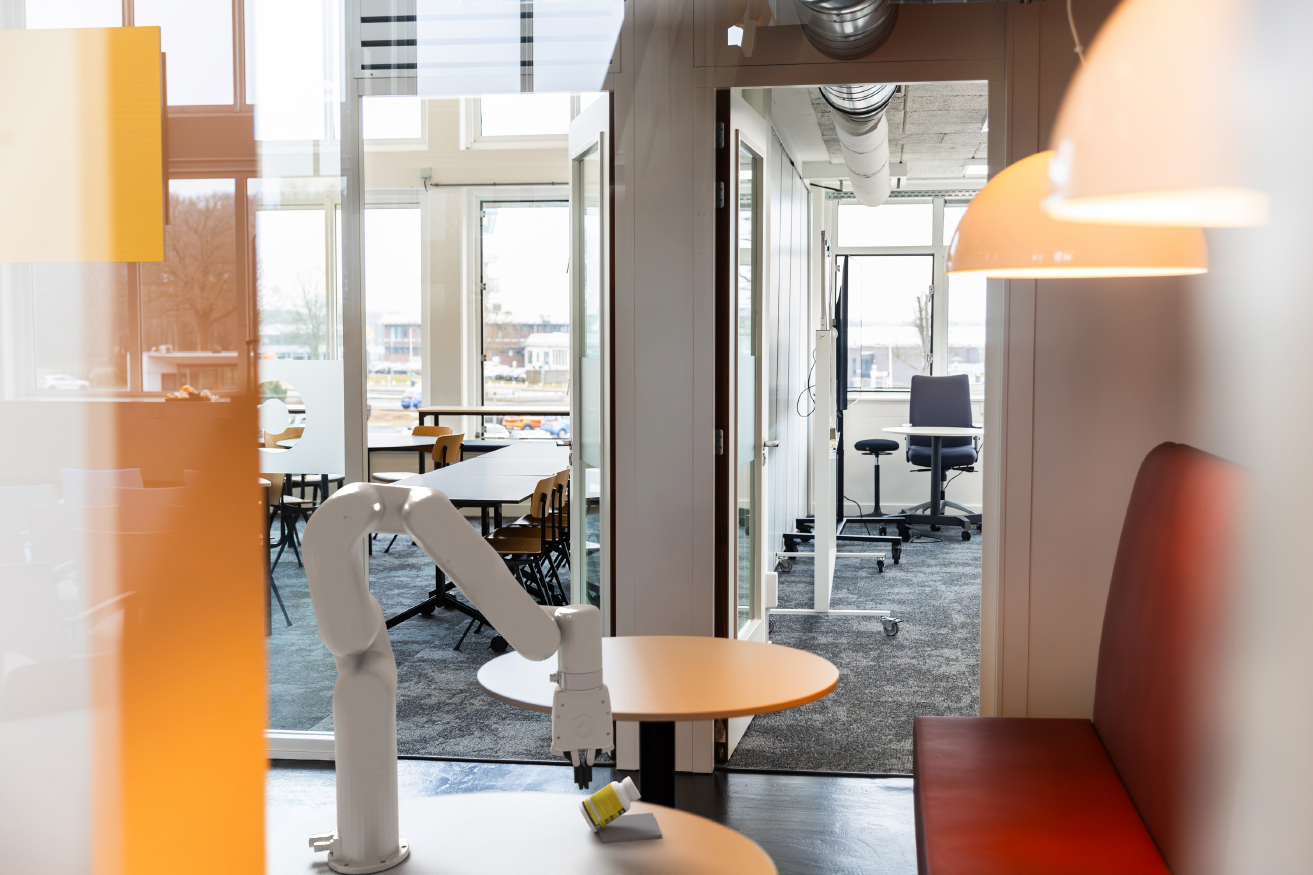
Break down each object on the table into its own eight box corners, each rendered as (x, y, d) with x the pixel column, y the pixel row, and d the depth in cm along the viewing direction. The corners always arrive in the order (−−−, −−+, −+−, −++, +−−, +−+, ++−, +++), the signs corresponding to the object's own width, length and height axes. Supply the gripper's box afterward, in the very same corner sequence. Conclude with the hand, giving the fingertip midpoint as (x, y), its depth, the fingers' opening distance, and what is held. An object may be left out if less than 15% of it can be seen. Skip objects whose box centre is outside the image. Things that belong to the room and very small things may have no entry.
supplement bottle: (592, 834, 159) (642, 800, 161) (576, 804, 161) (625, 771, 162) (595, 832, 164) (643, 799, 166) (579, 803, 166) (627, 771, 168)
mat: (602, 842, 158) (602, 839, 158) (596, 820, 167) (596, 817, 167) (661, 837, 160) (661, 834, 160) (652, 815, 169) (652, 812, 169)
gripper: (537, 688, 157) (540, 799, 157) (627, 681, 160) (630, 790, 160) (535, 676, 164) (537, 782, 165) (621, 670, 167) (624, 774, 167)
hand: (583, 786), depth 162 cm, fingers closed
